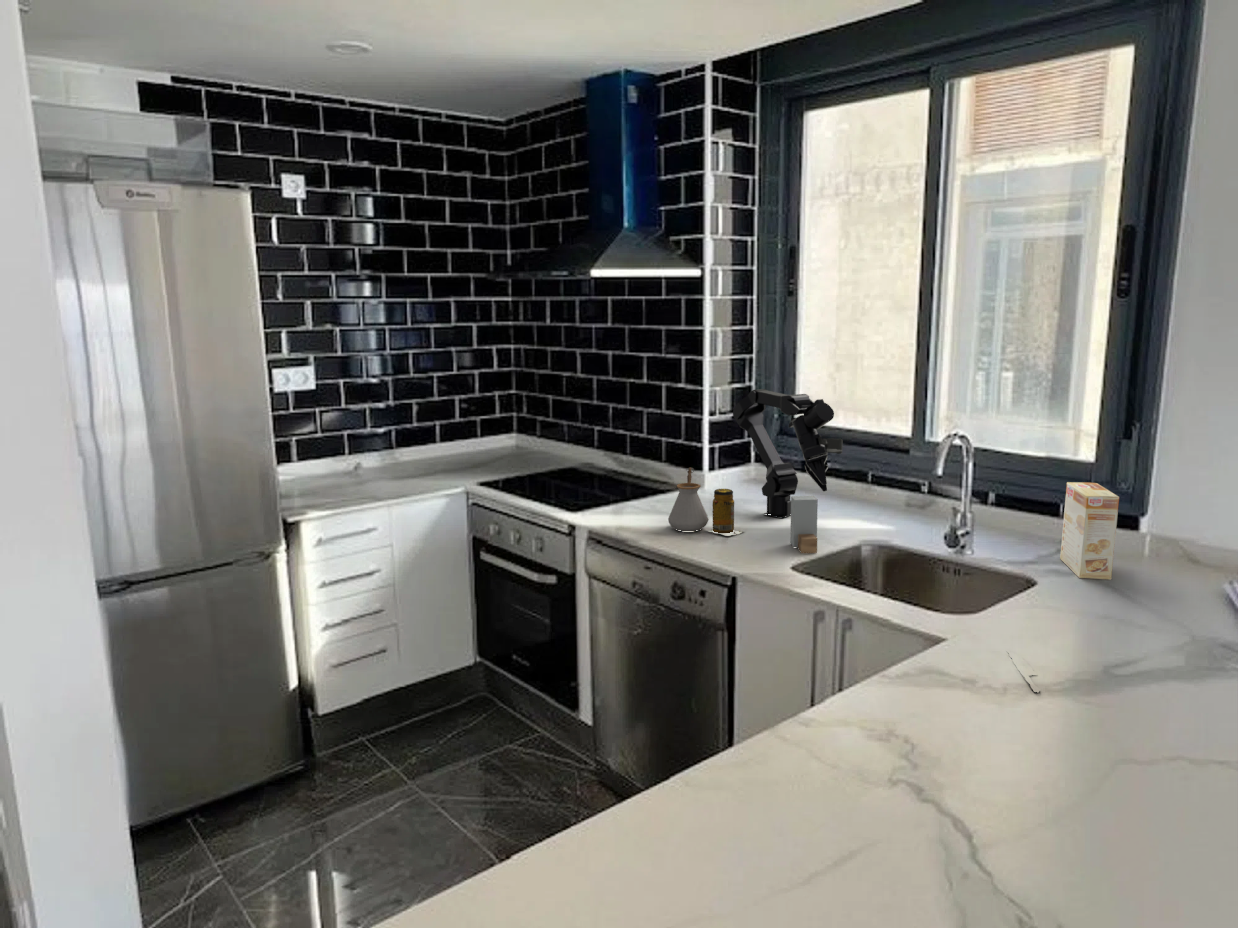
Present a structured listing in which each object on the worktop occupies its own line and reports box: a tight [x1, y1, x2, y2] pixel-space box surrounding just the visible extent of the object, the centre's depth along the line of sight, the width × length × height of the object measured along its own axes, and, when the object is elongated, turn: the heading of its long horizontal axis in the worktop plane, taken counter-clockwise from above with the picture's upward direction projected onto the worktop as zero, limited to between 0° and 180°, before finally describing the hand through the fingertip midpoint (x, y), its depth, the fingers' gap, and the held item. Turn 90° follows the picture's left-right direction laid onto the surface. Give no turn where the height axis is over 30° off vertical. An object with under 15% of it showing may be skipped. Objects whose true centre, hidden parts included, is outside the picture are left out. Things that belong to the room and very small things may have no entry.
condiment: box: [711, 488, 735, 533], centre depth 236 cm, size 7×8×12 cm
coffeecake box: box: [1059, 481, 1120, 581], centre depth 198 cm, size 15×7×20 cm, turn 168°
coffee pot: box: [667, 466, 710, 531], centre depth 245 cm, size 21×12×15 cm, turn 173°
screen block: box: [789, 495, 819, 548], centre depth 222 cm, size 4×6×13 cm, turn 91°
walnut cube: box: [797, 534, 818, 554], centre depth 219 cm, size 4×4×4 cm
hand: (825, 487), depth 233 cm, fingers open, 9 cm apart
